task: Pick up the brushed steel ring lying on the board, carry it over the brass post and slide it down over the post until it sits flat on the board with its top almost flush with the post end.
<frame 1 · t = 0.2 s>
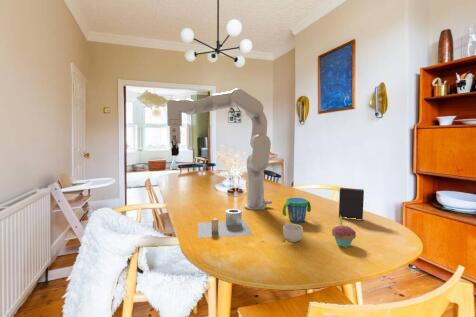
hand: (175, 154, 143), 31 cm above the table, tool pointing down, fingers open, 9 cm apart
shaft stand: (223, 231, 114), on the table
teacup: (293, 239, 106), on the table
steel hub: (233, 224, 119), point 1 cm above the table, touching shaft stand
cupcake: (343, 245, 101), on the table
black upright rectangular panel: (350, 218, 132), on the table
snack cup: (296, 220, 129), on the table
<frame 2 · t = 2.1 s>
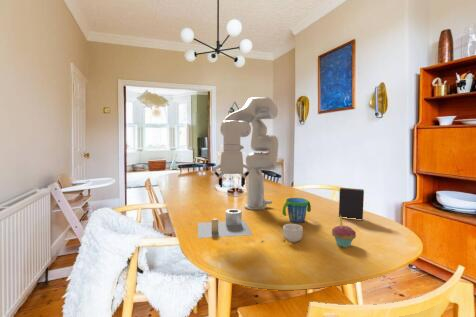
hand: (231, 186, 118), 19 cm above the table, tool pointing down, fingers open, 9 cm apart
nothing on the table moved.
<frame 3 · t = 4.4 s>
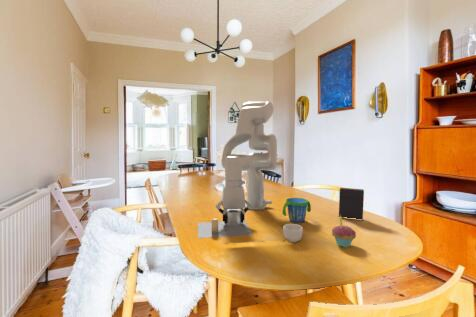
hand: (233, 222, 119), 2 cm above the table, tool pointing down, fingers closed on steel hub, 7 cm apart
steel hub: (233, 224, 119), point 2 cm above the table, touching gripper, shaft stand
everything else where it was.
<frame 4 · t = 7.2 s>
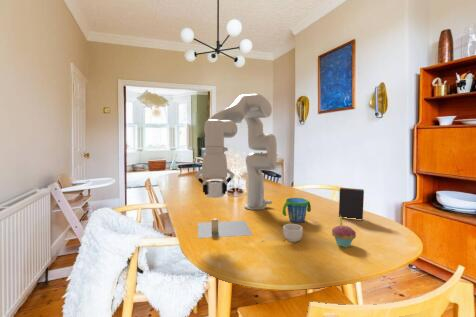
hand: (214, 193, 108), 18 cm above the table, tool pointing down, fingers closed on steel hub, 7 cm apart
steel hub: (214, 195, 108), point 17 cm above the table, touching gripper
everything else where it was.
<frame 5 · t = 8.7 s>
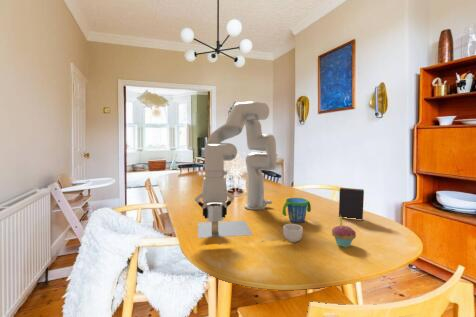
hand: (214, 216, 109), 8 cm above the table, tool pointing down, fingers closed on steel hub, 7 cm apart
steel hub: (214, 218, 109), point 7 cm above the table, touching gripper
everything else where it was.
when the fingers open (3 cm above the table, at t = 10.2 s): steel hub stays where it is, resting on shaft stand.
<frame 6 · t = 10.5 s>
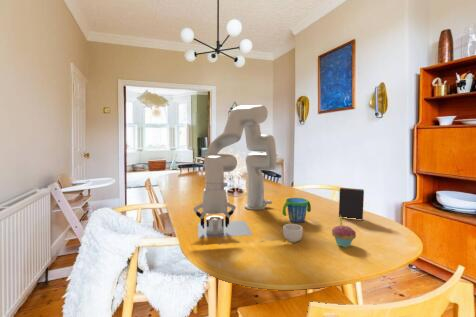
hand: (214, 226, 109), 4 cm above the table, tool pointing down, fingers open, 9 cm apart
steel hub: (215, 232, 109), point 1 cm above the table, touching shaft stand
everything else where it was.
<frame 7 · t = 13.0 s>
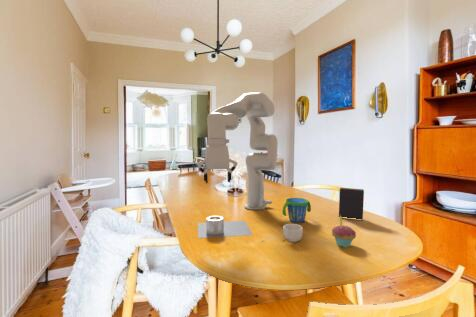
hand: (217, 182, 113), 22 cm above the table, tool pointing down, fingers open, 9 cm apart
nothing on the table moved.
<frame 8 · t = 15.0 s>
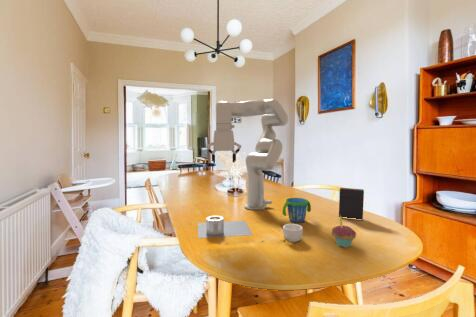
hand: (223, 162, 129), 28 cm above the table, tool pointing down, fingers open, 9 cm apart
nothing on the table moved.
at the end: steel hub 0.1 cm from the target spot on the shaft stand, point 1.5 cm above the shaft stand's base; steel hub tilted 0°; the gripper is holding nothing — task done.
